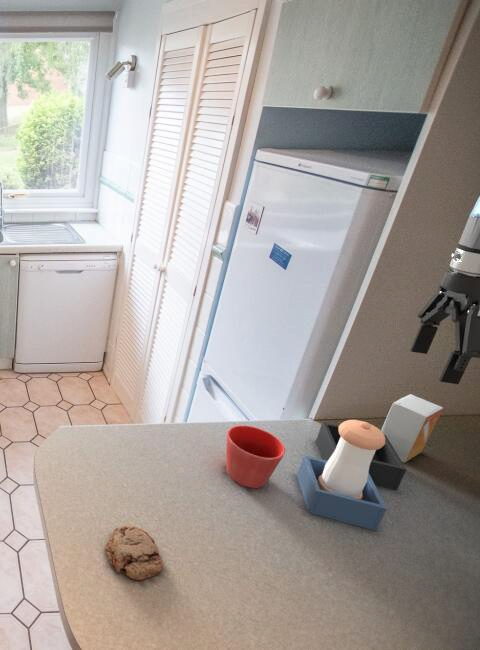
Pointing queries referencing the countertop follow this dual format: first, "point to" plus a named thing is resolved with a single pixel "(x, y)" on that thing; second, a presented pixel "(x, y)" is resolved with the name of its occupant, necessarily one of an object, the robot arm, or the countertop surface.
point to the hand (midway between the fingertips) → (432, 366)
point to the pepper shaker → (351, 459)
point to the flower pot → (252, 455)
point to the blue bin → (339, 498)
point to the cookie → (134, 553)
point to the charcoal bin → (384, 463)
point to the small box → (410, 425)
